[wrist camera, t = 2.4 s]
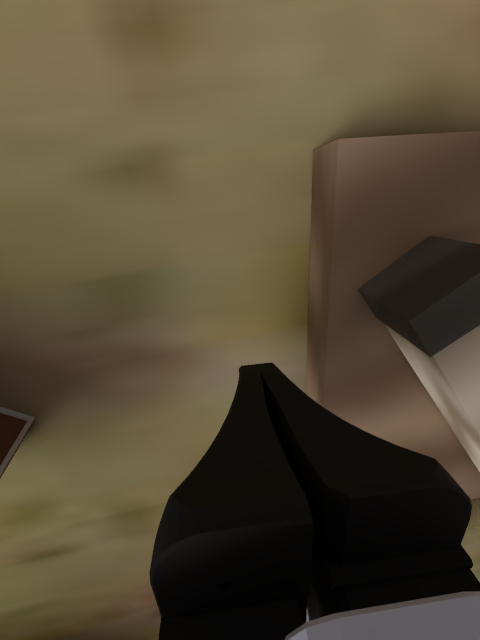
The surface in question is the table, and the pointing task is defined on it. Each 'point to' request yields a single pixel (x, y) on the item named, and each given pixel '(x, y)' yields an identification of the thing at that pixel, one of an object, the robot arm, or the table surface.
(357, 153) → the stool seat
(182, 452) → the table surface
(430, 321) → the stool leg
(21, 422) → the food container
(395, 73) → the table surface
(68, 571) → the table surface
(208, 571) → the robot arm
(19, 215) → the table surface
